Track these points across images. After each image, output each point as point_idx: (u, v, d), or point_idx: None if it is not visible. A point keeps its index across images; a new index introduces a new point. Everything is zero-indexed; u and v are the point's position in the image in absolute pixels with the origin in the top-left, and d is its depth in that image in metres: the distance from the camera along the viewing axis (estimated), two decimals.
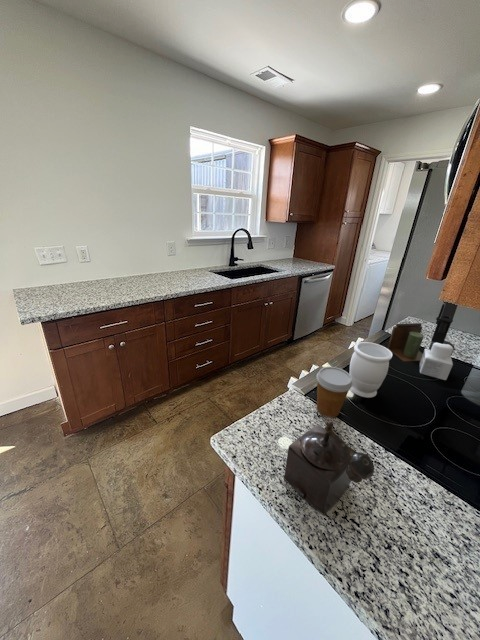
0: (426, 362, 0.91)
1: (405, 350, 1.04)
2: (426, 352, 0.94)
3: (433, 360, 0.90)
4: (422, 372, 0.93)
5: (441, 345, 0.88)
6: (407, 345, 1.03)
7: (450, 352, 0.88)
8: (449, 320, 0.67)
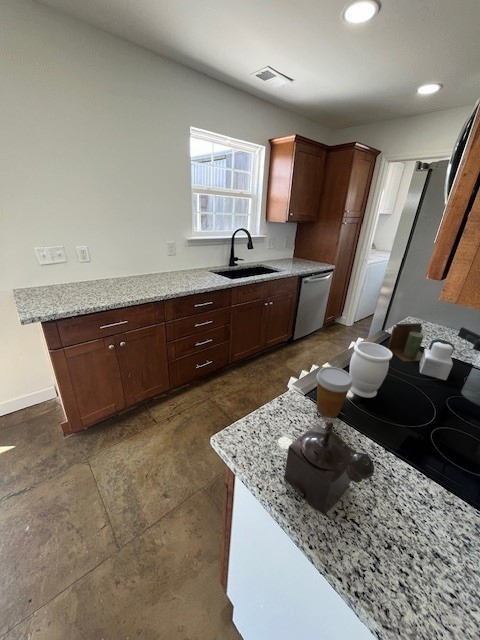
0: (426, 362, 0.91)
1: (405, 350, 1.04)
2: (426, 352, 0.94)
3: (433, 360, 0.90)
4: (422, 372, 0.93)
5: (441, 345, 0.88)
6: (407, 345, 1.03)
7: (450, 352, 0.88)
8: None
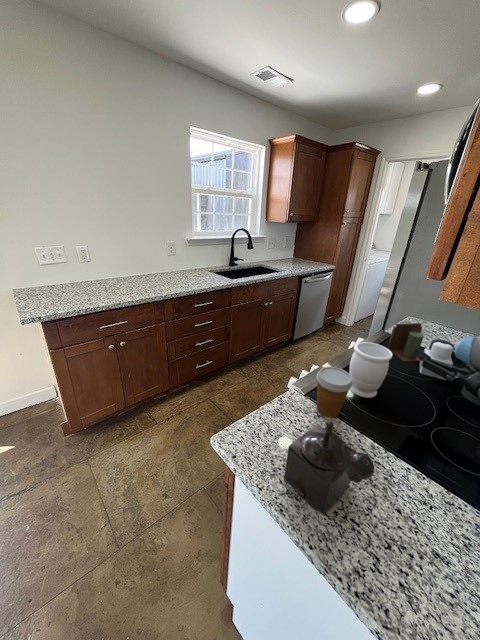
0: None
1: (405, 350, 1.04)
2: (426, 352, 0.94)
3: None
4: (422, 372, 0.93)
5: (441, 345, 0.88)
6: (407, 345, 1.03)
7: (450, 352, 0.88)
8: None
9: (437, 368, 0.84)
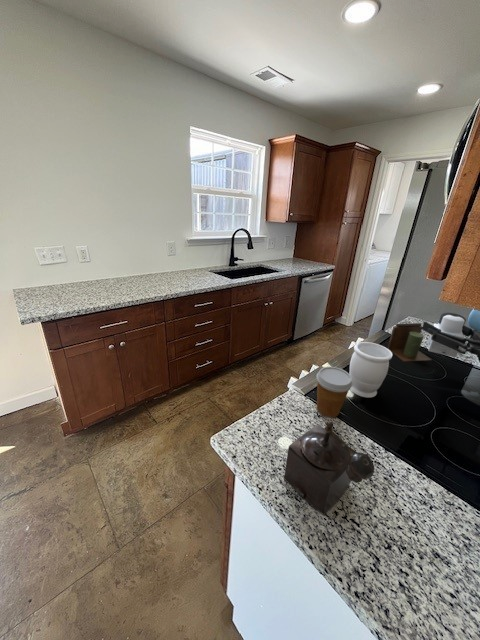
0: None
1: (405, 350, 1.04)
2: (435, 326, 0.90)
3: None
4: (431, 347, 0.89)
5: (452, 317, 0.84)
6: (407, 345, 1.03)
7: (461, 325, 0.84)
8: None
9: (448, 340, 0.80)
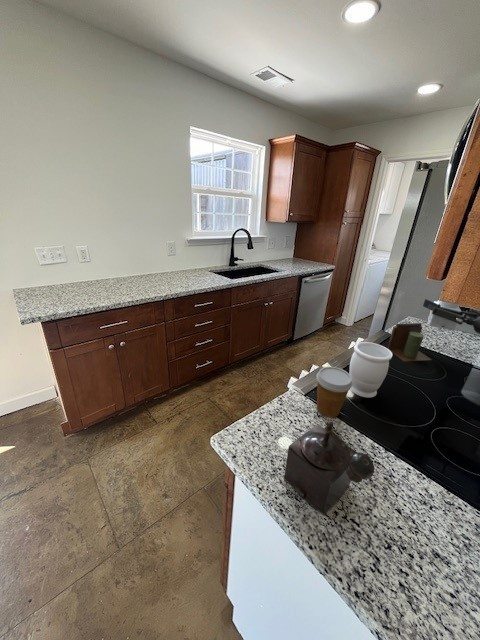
0: None
1: (405, 350, 1.04)
2: None
3: None
4: (432, 322, 0.98)
5: None
6: (407, 345, 1.03)
7: None
8: None
9: (447, 313, 0.89)
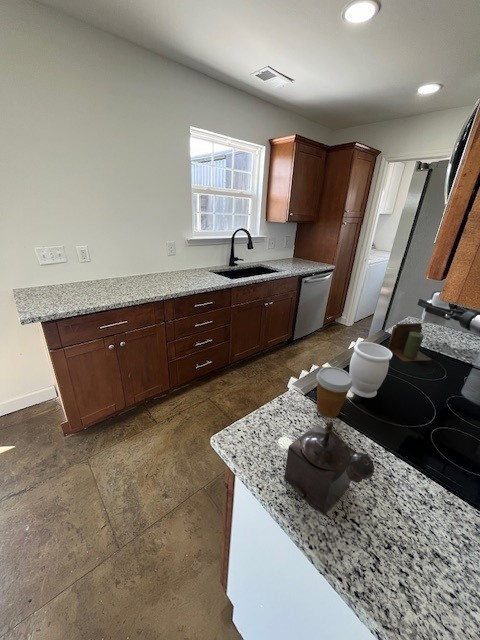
0: None
1: (405, 350, 1.04)
2: None
3: None
4: (425, 318, 1.12)
5: None
6: (407, 345, 1.03)
7: None
8: None
9: (437, 310, 1.03)
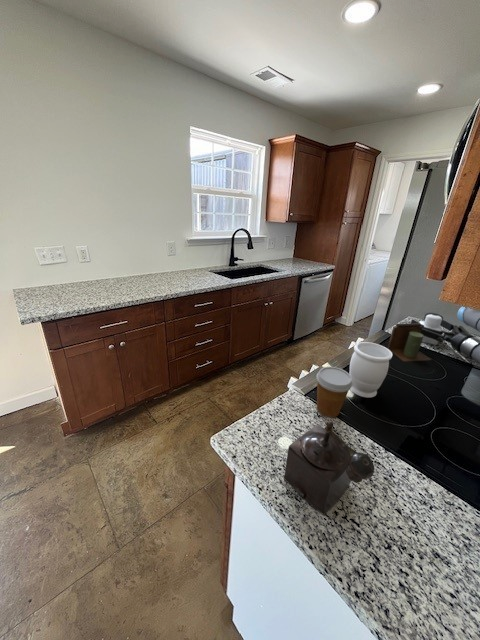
0: None
1: (405, 350, 1.04)
2: (421, 323, 1.17)
3: None
4: None
5: (432, 316, 1.12)
6: (407, 345, 1.03)
7: (439, 322, 1.11)
8: None
9: (430, 333, 1.06)
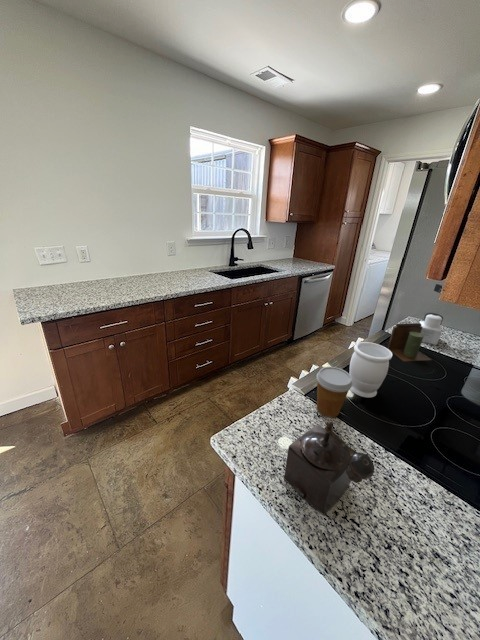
0: (421, 330, 1.15)
1: (405, 350, 1.04)
2: (421, 323, 1.17)
3: (426, 328, 1.13)
4: None
5: (432, 316, 1.12)
6: (407, 345, 1.03)
7: (439, 322, 1.11)
8: None
9: None
